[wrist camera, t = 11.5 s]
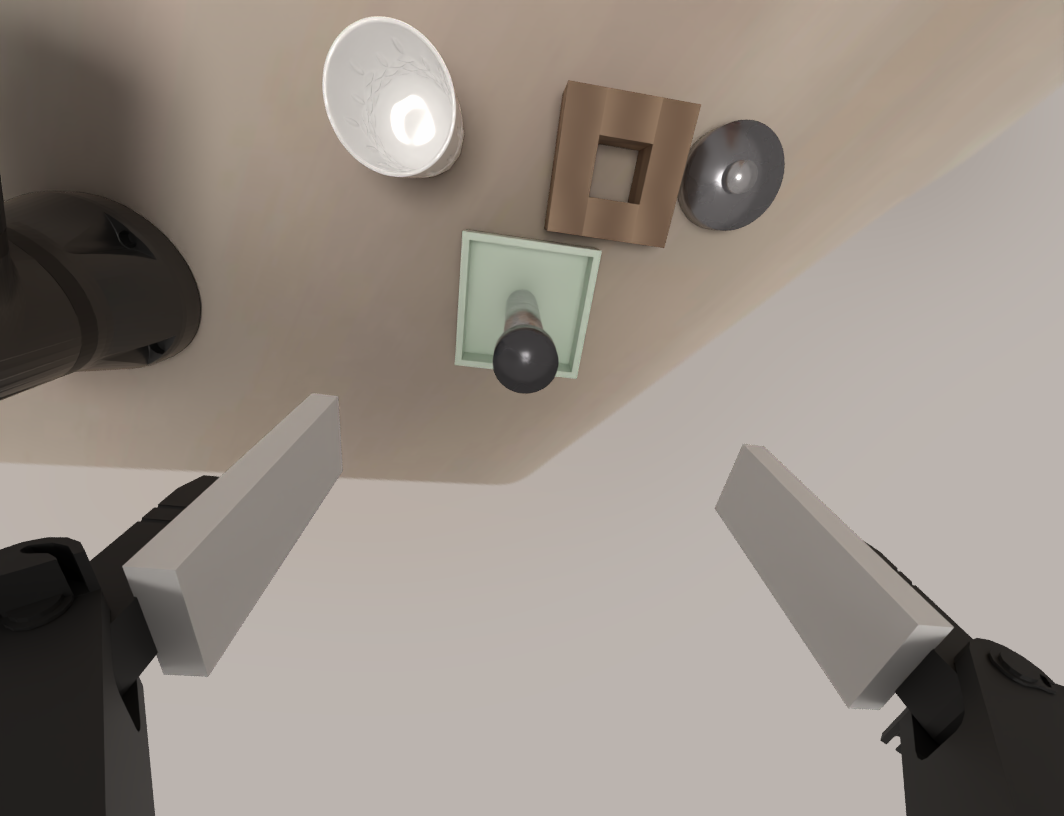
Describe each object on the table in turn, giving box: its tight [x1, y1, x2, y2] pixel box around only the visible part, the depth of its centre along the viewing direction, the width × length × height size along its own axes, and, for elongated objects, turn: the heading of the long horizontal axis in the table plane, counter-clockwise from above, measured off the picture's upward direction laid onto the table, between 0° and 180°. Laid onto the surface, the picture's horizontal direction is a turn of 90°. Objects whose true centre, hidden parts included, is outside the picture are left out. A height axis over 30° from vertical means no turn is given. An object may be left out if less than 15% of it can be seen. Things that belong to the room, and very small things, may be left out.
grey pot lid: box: [678, 120, 785, 231], centre depth 34 cm, size 8×8×4 cm
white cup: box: [322, 16, 464, 178], centre depth 29 cm, size 8×8×10 cm
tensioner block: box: [544, 80, 701, 248], centre depth 34 cm, size 10×10×4 cm
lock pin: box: [493, 290, 559, 393], centre depth 32 cm, size 4×4×16 cm
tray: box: [455, 229, 602, 379], centre depth 39 cm, size 12×12×3 cm
